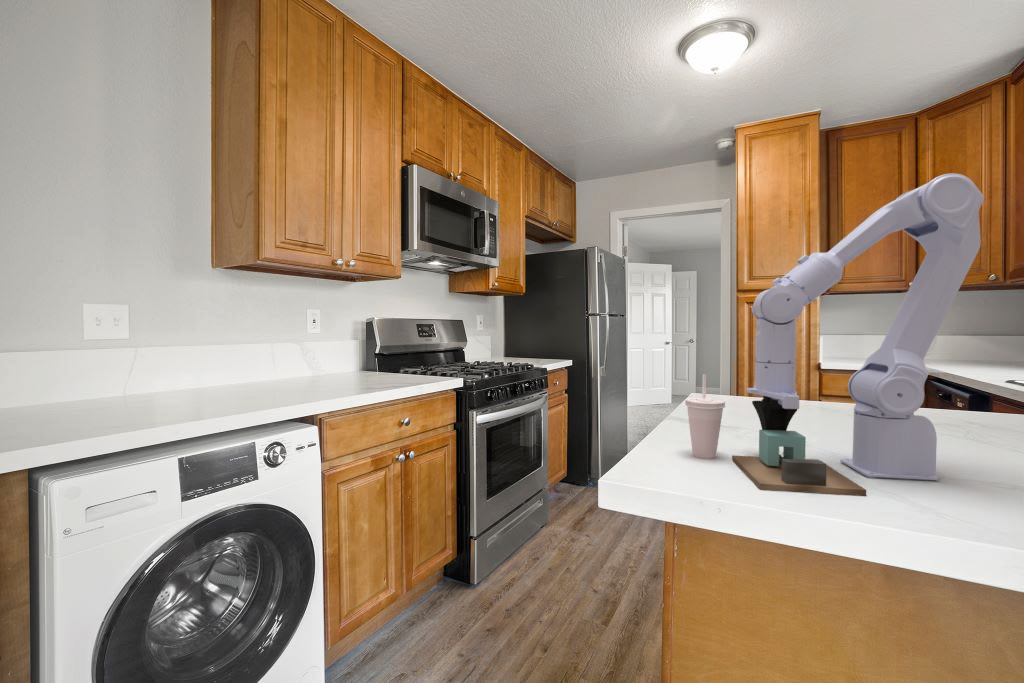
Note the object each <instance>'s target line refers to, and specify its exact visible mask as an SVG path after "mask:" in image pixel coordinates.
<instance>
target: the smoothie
mask: <svg viewBox="0 0 1024 683" xmlns="http://www.w3.org/2000/svg"><path fill="white" fill-rule="evenodd" d="M701 387H702V390H701V391H702V392H701V393H702V394H701V396H700V397H698V396H696V397H693V396H692V397H688V398H685V403H684V405H685V406H687V416H688V425H689V433H690V441H691V450H692V456H693V455H694V456H693V457H695V456H696V458H698V457H699V458H700V459H704V458H705V459H708V460H710V459H716V458H717V450H718V446H719V445H718V444H719V438H720V433H721V432H720V431H721V426H722V425H721V424H722V419H723V418H722V417H723V411H724V409H725V408H726V401H725V400H724V399H720V398H715V397H714V398H713V397H706V396H707V395H706V394H707V374H702V386H701Z"/></svg>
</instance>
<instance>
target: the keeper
mask: <svg viewBox="0 0 1024 683" xmlns="http://www.w3.org/2000/svg"><path fill="white" fill-rule="evenodd" d="M758 434H759V436H758V457H759V459H761V460H762V461H763V462H764V463H765V464H766V465H768V466H779V455H780V447H781V448H783V452H782V457H783V458H785V459H797V460H805V459H806V446H807V445H806V443H807V442H806V436H804V435H803V434H801V433H799V432H797V431H796V430H786V431H780V430H762V429H759V431H758Z"/></svg>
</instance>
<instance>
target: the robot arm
mask: <svg viewBox="0 0 1024 683" xmlns="http://www.w3.org/2000/svg"><path fill="white" fill-rule="evenodd" d="M984 200H985V196H984V195H983V193H982V192H981V191H980V189H979V188H978V187H977V185H976V184H975V183H974V182H973V180H972V179H970V178H969V177H967V176H966V175H963V174H961V173H953V172H951V173H945V174H944V173H943V174H942V175H938V176H936V177H934V178H933V179H932V180H931V181H929V182H927V183H925V184H923V185H921V186H918V187H917V188H914V189H912V190H909V191H905V192H904V193H902V194H901V195H899V196H898V197H897V198H896V199H895V200H892V201H891V202H889V203H887V204H885V205H884V206H882V207H881V208H879V209H877V210H876V211H875V212H873V213H872V214H871V215H870V216H868V217H867V218H866V219H865V220H864V221H863V222H861V223H860V224H859V225H858V226H857V227H856V228H854V229H853V230H851V231H850V233H848V235H846V236H845V237H844V238H843V239H841V240H840V241H838V243H837V244H836V245H834V246H833V247H832V248H831V249H830V250H828V251H827V252H813V253H811V254H809V256H808V255H807V254H805V255H802V256H801V257H800V258H798V259H797V260H796V262H797V263H798V265H796V266H794V267H793V268H792V269H791V270H790V271H788V272H787V273H786V274H785V275H784V276H782V277H781V278H780V277H777V278H775V279H774V280H773V281H772V284H773V287H770V288H769V289H765V290H763V291H761V292H760V293H759V294H758V295H757V296H756V297H755V299H754V302H753V305H752V306H751V307H750V308H751V313H752V314H753V317H754V318H755V319H756V325H755V326H756V333H755V350H754V351H755V352H754V383H753V387H746V392H747V393H748V394H753V395H756V396H761V397H762V399H761V400H752V402H751V403H752V406H753V407H754V410H755V411H756V414H757V417H758V418H759V422H760V427H761V430H780V431H788V427H789V425H790V423H791V421H792V418H793V417H794V415H795V414H796V413H797V412H798V410H799V409H800V395H797V394H798V391H797V390H796V368H797V367H796V366H797V365H796V364H797V363H796V359H797V358H796V357H797V332H796V331H797V330H796V328H797V324H796V323H797V319H798V318H800V316H801V315H802V312H803V310H804V307H806V306H808V305H810V304H811V303H812V302H813V301H815V300H816V299H817V298H819V297H820V296H821V295H822V294H824V293H825V292H826V291H828V290H829V289H831V287H833V286H834V285H836V284H837V283H839V281H841V280H842V278H843V273H844V267H845V266H846V265H848V264H849V263H850V262H852V261H853V260H854V259H856V258H857V257H858V256H860V255H861V254H863V253H865V251H867V250H869V249H870V248H871V247H873V246H874V245H875V244H876V243H878V242H879V241H881V240H882V239H883V238H885V237H886V236H888V235H889V234H893V233H896V232H899V231H903V232H904V233H906V234H907V235H908V236H910V237H911V238H913V239H914V240H915V241H917V242H919V244H920V246H921V247H922V248H923V250H924V251H925V253H926V254H925V256H924V258H923V260H922V261H921V264H920V267H919V268H918V270H917V273H915V276H914V278H913V281H912V282H911V285H910V287H909V288H908V290H907V293H906V295H905V297H904V299H903V301H902V303H901V304H900V307H899V309H898V311H897V313H896V315H895V317H894V319H893V321H892V323H891V325H890V327H889V329H888V331H887V333H886V336H885V337H884V339H883V341H882V343H881V345H880V347H879V348H878V349H877V350H875V351H874V352H873V353H872V354H870V356H869V357H867V359H866V360H865V362H864V364H863V365H862V366H861V368H860V369H858V370H856V372H853V374H851V376H850V378H849V380H848V381H847V382H848V383H847V391H848V394H849V395H850V398H852V400H853V401H854V402H855V405H854V407H853V426H852V427H853V428H852V430H853V431H852V433H853V434H852V458H840V462H841V463H843V464H844V465H846V466H848V467H849V468H852V469H853V470H855V471H856V472H858V473H859V474H861V475H863V476H865V477H868V478H871V477H872V478H887V479H906V480H921V481H922V480H925V481H940V476H938V475H936V472H937V471H936V469H937V445H938V444H937V443H938V442H937V438H938V437H937V431H936V428H935V426H934V424H933V422H932V421H931V420H930V419H929V418H927V417H926V416H924V415H919V414H918V415H916V414H915V412H917V411H918V410H919V409H920V408H921V407H922V405H923V404H924V400H925V384H926V383H925V382H926V381H927V379H928V376H929V372H928V369H927V367H926V365H925V362H924V361H925V360H924V359H925V357H926V355H927V353H928V351H929V349H930V347H931V345H932V344H933V341H934V339H935V337H936V336H937V334H938V331H939V330H940V327H941V325H942V324H943V322H944V319H945V318H946V315H947V314H948V311H949V310H950V308H951V306H952V304H953V302H954V300H955V298H956V296H957V295H958V292H959V290H960V288H961V286H962V284H963V282H964V280H965V279H966V276H967V274H968V272H969V271H970V269H971V266H972V265H973V263H974V261H975V259H976V257H977V254H978V253H979V251H980V247H981V245H982V244H981V227H980V226H981V225H980V213H979V212H980V208H981V207H982V204H983V202H984Z"/></svg>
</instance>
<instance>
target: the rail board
mask: <svg viewBox="0 0 1024 683" xmlns="http://www.w3.org/2000/svg"><path fill="white" fill-rule="evenodd" d="M731 460H733V461H732V462H733V464H735V465H736V466H737V467H738V468H739V470H741V472H742V473H744V474H745V476H747V478H749V480H750V481H751V482H752V483H753V484H754V485H755V486H756V487H757V488H758V489H759V490H764V491H776V492H777V491H780V492H781V491H782V492H795V493H796V492H797V493H811V492H814V493H813V494H827V493H828V495H829V494H831V495H847V496H860V497H861V496H863V497H865V496H866V497H867V489H865V487H863V486H861V485H859V484H858V483H856V482H854V481H853V480H851V479H850V478H848V477H846V476H845V475H843V474H842V473H840V472H839V471H837V470H835V469H834V468H832V467H831V466H829V465H827V463H826V462H824V461H822V460H820V459H817V458H816V459H815V458H805V460H797V459H785V458H783V455H781V454H779V466H768V465H766V464H765V463H764V462H763V461H762V460H761V459H759V456H756V455H754V456H751V455H734V454H733V455H731Z"/></svg>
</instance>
